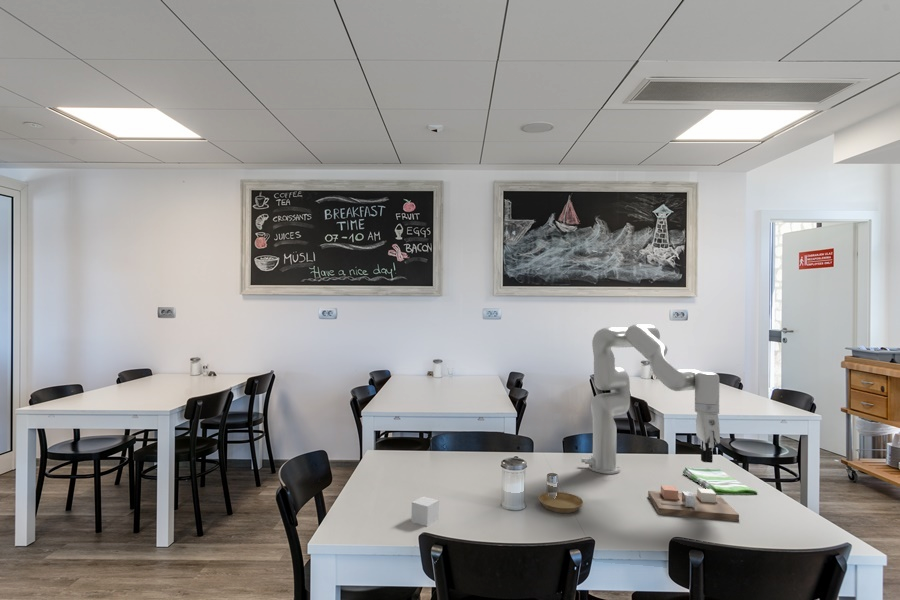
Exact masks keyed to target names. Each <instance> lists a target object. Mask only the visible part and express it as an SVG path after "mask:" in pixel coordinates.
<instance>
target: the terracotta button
mask: <svg viewBox="0 0 900 600" xmlns="http://www.w3.org/2000/svg"><path fill="white" fill-rule="evenodd" d="M660 492H661V495H662V496H663V498H664V499H675V500H678V493H679V489H677V487H676V486H675V485H664V484H663V485H660Z"/></svg>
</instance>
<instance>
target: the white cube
mask: <svg viewBox="0 0 900 600" xmlns="http://www.w3.org/2000/svg"><path fill="white" fill-rule="evenodd" d="M439 501H440V500H439V499H435V498H431V497H427V496H424V495H423V496H421V497H419V498H417V499H415V500H413V501H411V516H410V517H411V523H415V524H418V525H422V526H425V527H429V526H430V525H432V524H434V523H435V522H436V521H438V520H439V504H440V503H439Z"/></svg>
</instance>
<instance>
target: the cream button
mask: <svg viewBox="0 0 900 600" xmlns="http://www.w3.org/2000/svg"><path fill="white" fill-rule="evenodd" d="M696 495H697V497H698V498H699V499H700V501H701V502H712V503H716V496H717V494H716V493H715V492H714V491H713V490H712V489H705V488H704V487H702V488H700V487H699V488H698V487H697V488H696Z"/></svg>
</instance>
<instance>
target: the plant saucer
mask: <svg viewBox="0 0 900 600" xmlns="http://www.w3.org/2000/svg"><path fill="white" fill-rule="evenodd" d="M548 492H549V491H548ZM548 492H544V493H541V494H539V496H538V500H539V502H540V503H541V504H542V505H543V507H545V509H547V510H549V511H551V512H554V513H559V514H569V513H573V512H577V511H578V510H579V509H580V508H581V507H582V506H583V504H584V500H583V499H582V498H581V497H579V496H578V495H575V494H572V493H569V492H563V491H556V492H557V496H556V498H555V499H554V498H552V497H550V496H548Z"/></svg>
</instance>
